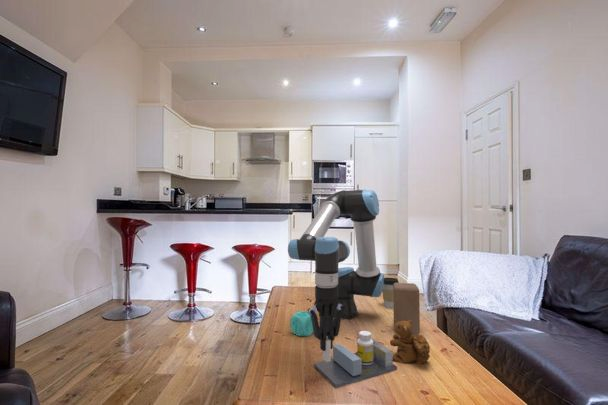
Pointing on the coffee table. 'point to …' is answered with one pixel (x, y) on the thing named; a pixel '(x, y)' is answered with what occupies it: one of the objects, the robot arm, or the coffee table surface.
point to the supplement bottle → (365, 348)
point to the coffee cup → (388, 291)
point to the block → (407, 305)
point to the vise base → (378, 367)
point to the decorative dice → (301, 324)
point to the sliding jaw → (347, 359)
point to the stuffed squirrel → (409, 344)
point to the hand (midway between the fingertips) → (326, 359)
